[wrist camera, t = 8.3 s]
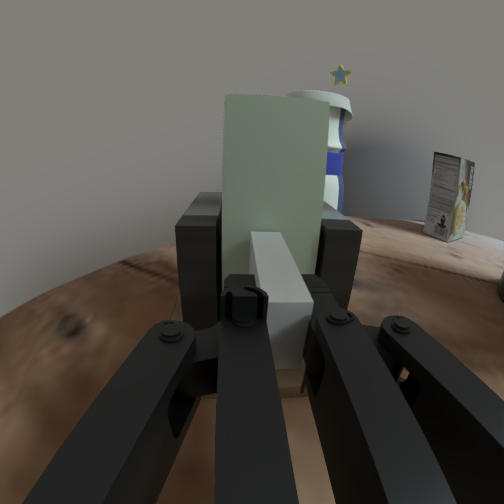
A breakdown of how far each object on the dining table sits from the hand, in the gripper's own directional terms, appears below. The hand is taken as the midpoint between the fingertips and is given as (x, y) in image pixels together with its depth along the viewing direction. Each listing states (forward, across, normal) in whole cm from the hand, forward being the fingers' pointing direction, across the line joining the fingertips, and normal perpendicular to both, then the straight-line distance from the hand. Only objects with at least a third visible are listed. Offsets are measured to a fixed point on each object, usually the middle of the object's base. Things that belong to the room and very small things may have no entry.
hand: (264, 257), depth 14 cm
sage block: (+5, 0, -6) cm, 8 cm away
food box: (+29, +40, -7) cm, 50 cm away
